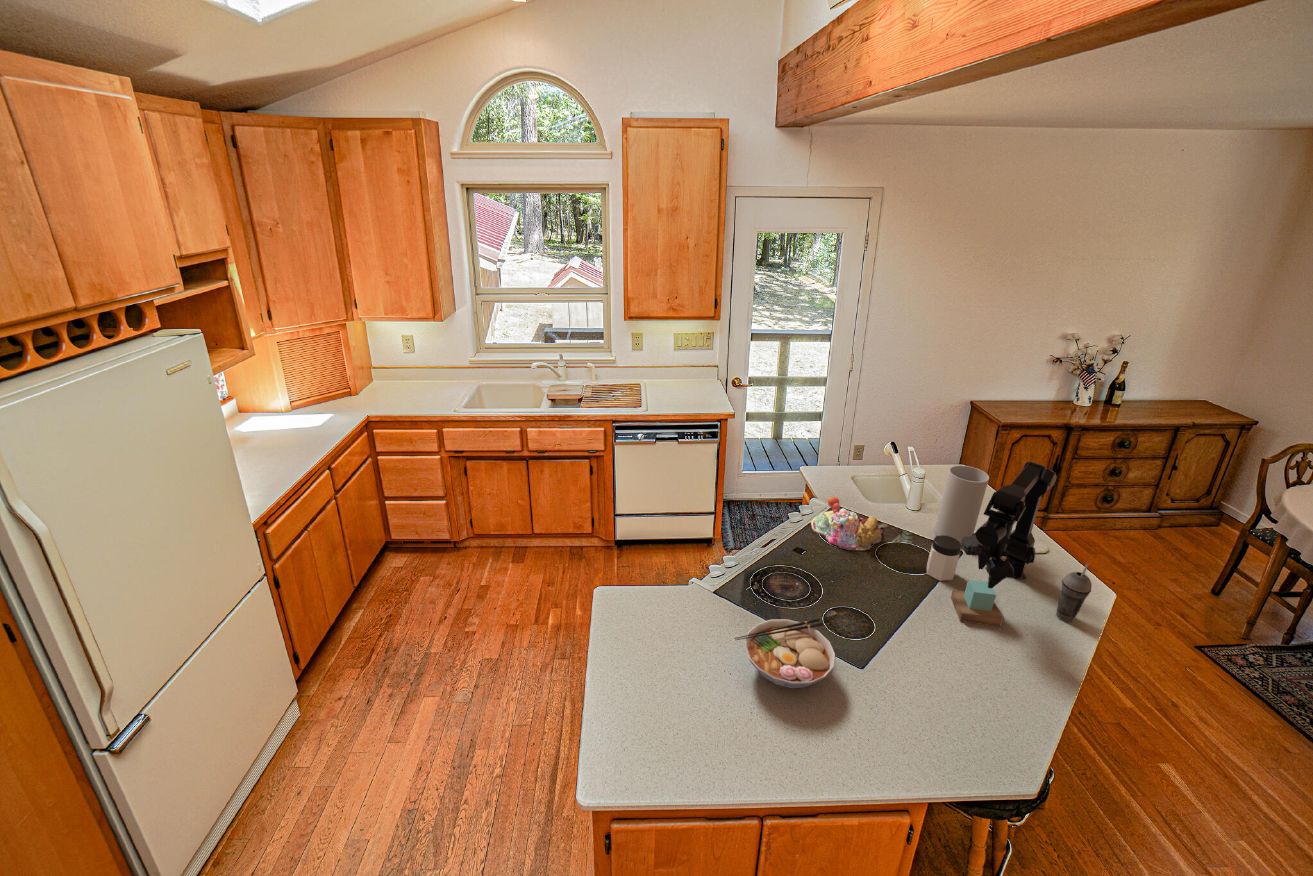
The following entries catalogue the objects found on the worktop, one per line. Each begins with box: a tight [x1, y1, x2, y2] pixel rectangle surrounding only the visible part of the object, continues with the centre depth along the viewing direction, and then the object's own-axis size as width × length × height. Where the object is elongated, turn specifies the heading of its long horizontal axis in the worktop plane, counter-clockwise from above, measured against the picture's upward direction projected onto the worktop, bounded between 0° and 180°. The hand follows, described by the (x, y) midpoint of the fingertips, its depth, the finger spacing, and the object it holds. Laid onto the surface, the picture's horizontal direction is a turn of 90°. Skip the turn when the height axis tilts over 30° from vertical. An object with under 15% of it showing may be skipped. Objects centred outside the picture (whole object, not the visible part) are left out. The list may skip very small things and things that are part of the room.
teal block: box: [964, 579, 997, 611], centre depth 185 cm, size 6×6×6 cm
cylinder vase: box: [933, 464, 990, 545], centre depth 221 cm, size 12×12×25 cm
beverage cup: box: [1055, 562, 1093, 623], centre depth 182 cm, size 7×7×20 cm
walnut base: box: [950, 589, 1004, 627], centre depth 187 cm, size 11×11×3 cm
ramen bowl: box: [734, 617, 836, 689], centre depth 162 cm, size 25×23×8 cm
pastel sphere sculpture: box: [810, 496, 883, 551], centre depth 224 cm, size 25×24×9 cm
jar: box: [926, 535, 962, 582], centre depth 202 cm, size 9×8×12 cm
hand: (985, 578), depth 183 cm, fingers open, 9 cm apart
